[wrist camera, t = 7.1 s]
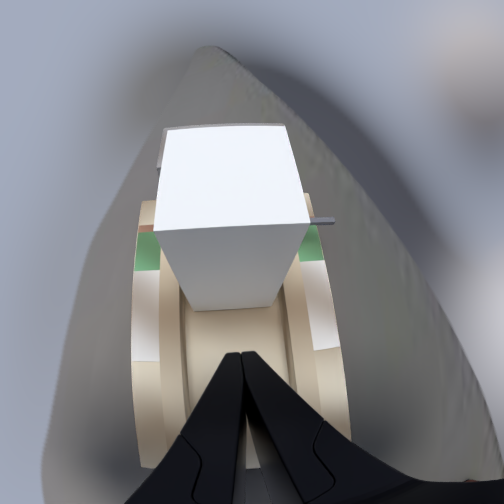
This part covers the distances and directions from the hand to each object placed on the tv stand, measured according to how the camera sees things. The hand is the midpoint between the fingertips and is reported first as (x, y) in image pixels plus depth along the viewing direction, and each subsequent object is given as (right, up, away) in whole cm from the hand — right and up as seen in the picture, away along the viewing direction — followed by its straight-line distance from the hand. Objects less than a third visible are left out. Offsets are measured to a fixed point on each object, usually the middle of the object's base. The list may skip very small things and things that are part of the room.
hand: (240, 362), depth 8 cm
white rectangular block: (+1, +2, +7) cm, 8 cm away
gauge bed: (-1, 0, +7) cm, 7 cm away
